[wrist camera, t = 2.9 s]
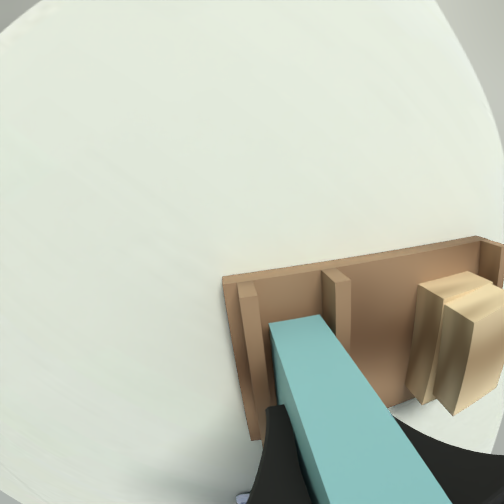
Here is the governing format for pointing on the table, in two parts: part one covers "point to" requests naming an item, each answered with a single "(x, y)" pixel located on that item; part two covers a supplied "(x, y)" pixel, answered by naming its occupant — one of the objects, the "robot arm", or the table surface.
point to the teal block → (343, 423)
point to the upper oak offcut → (470, 348)
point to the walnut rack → (345, 312)
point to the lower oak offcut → (433, 329)
